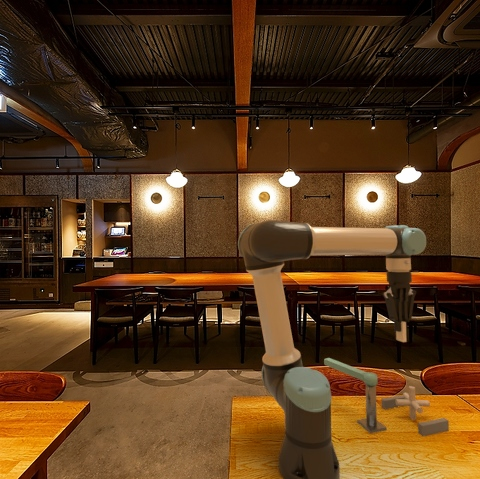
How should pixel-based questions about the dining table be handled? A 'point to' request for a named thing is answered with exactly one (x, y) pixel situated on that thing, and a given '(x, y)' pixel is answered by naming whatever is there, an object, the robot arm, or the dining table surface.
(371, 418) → the pivot post
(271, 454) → the dining table surface
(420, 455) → the dining table surface
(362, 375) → the grey-green bar
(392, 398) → the rails
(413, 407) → the pipe connector
